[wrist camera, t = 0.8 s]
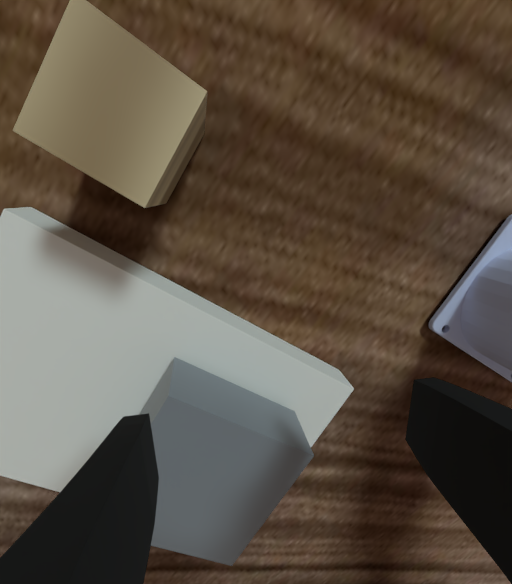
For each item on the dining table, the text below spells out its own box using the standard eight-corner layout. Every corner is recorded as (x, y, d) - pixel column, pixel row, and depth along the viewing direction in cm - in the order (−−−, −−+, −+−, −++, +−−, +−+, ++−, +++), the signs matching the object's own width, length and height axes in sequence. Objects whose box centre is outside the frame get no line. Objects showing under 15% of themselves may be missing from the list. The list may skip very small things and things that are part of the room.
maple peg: (204, 133, 14) (207, 91, 8) (166, 203, 15) (144, 208, 9) (128, 80, 13) (74, -9, 7) (90, 157, 14) (12, 130, 8)
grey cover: (294, 411, 16) (314, 455, 14) (226, 506, 18) (231, 565, 15) (174, 356, 14) (168, 395, 12) (106, 468, 16) (85, 529, 13)
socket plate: (338, 369, 19) (354, 388, 17) (236, 511, 21) (240, 542, 19) (31, 207, 14) (4, 208, 12) (-68, 416, 16) (-105, 446, 14)
